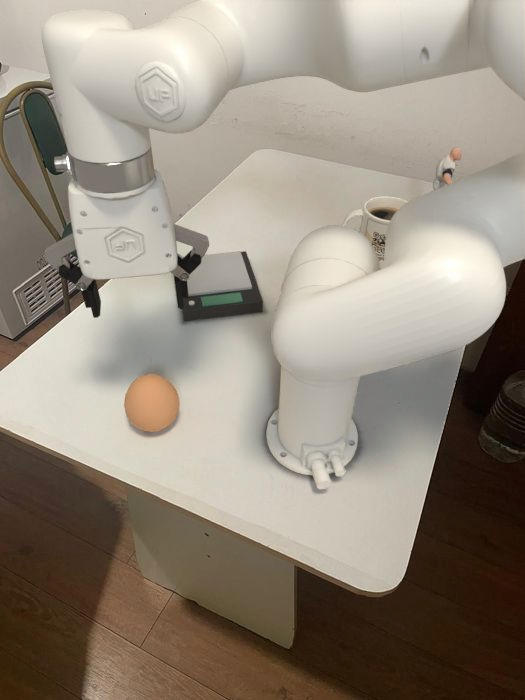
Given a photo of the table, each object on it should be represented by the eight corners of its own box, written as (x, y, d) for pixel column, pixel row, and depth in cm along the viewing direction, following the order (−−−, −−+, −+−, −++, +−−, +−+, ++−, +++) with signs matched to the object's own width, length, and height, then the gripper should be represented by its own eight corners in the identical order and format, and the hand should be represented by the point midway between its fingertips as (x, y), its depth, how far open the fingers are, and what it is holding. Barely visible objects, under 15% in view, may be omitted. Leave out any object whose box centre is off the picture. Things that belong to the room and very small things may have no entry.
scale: (262, 312, 91) (263, 298, 89) (183, 322, 89) (181, 308, 87) (246, 261, 102) (245, 248, 100) (175, 269, 100) (173, 255, 98)
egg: (144, 452, 69) (134, 411, 63) (120, 417, 74) (109, 376, 68) (191, 426, 73) (186, 385, 67) (166, 394, 77) (158, 353, 71)
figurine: (454, 250, 106) (481, 166, 94) (412, 244, 108) (433, 160, 95) (453, 216, 117) (477, 136, 104) (414, 210, 118) (433, 131, 106)
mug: (381, 279, 99) (392, 228, 91) (335, 253, 105) (341, 203, 97) (414, 259, 104) (427, 209, 96) (368, 235, 110) (377, 186, 102)
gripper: (11, 190, 45) (60, 335, 57) (208, 178, 48) (215, 318, 60) (23, 154, 50) (66, 293, 62) (200, 145, 53) (208, 280, 65)
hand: (139, 305), depth 61 cm, fingers open, 9 cm apart
